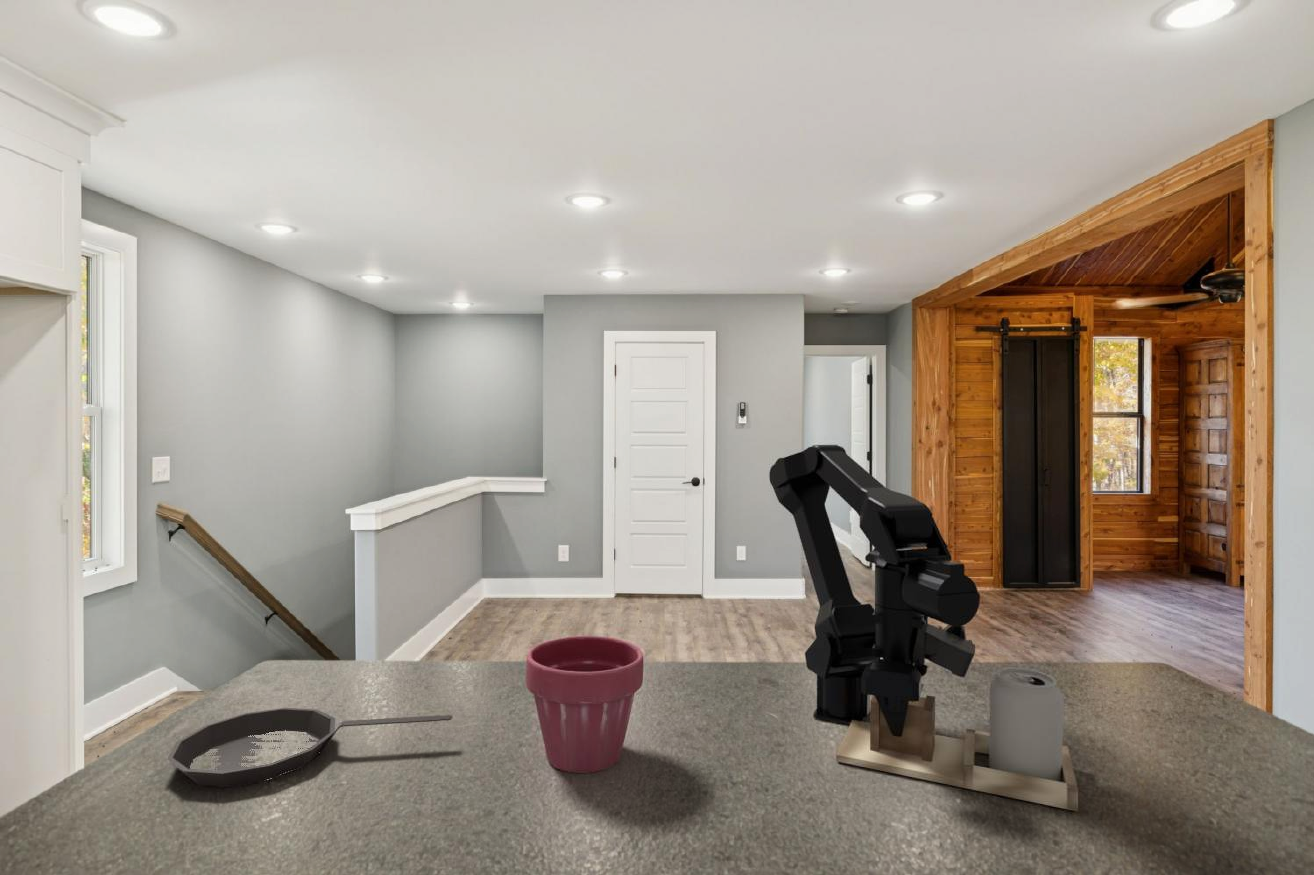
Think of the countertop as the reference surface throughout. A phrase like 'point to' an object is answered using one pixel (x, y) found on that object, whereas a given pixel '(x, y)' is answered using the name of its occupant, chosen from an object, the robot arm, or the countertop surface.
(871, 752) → the wooden divided tray
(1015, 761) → the can
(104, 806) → the countertop surface
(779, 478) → the robot arm
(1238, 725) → the countertop surface
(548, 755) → the plant pot
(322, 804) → the countertop surface
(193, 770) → the frying pan
